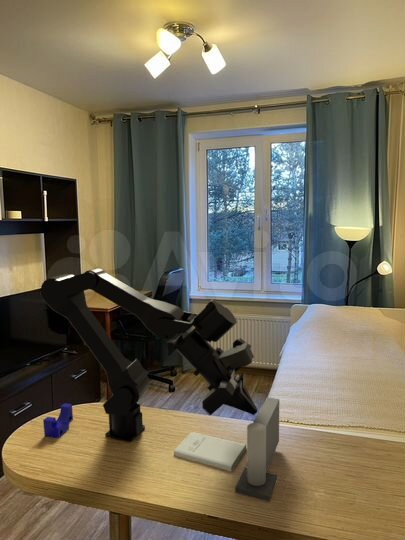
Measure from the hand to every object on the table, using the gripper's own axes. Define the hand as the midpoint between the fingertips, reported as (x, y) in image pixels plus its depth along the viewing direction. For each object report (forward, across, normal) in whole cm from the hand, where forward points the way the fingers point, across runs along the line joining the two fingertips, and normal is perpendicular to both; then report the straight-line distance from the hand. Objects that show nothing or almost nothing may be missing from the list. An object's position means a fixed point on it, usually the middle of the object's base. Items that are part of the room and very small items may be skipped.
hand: (255, 412), depth 82 cm
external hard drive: (0, -3, +12) cm, 13 cm away
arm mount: (+7, -12, +4) cm, 14 cm away
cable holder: (-25, -2, +36) cm, 44 cm away
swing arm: (+6, -6, +3) cm, 9 cm away
